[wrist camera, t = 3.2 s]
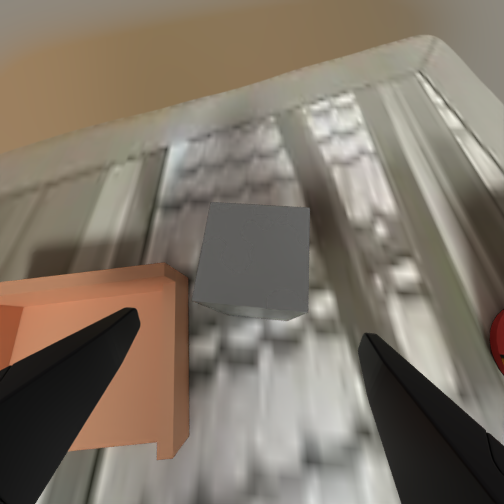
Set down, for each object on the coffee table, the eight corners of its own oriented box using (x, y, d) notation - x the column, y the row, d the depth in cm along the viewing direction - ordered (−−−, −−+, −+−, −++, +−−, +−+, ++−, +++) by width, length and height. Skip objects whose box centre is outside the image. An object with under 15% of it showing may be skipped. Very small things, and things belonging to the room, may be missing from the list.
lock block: (286, 321, 18) (308, 312, 9) (228, 315, 19) (191, 300, 9) (289, 264, 20) (309, 207, 11) (236, 260, 21) (210, 202, 11)
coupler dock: (189, 435, 16) (157, 479, 11) (-20, 457, 16) (-134, 508, 12) (188, 278, 20) (164, 262, 15) (21, 297, 21) (-51, 288, 16)
